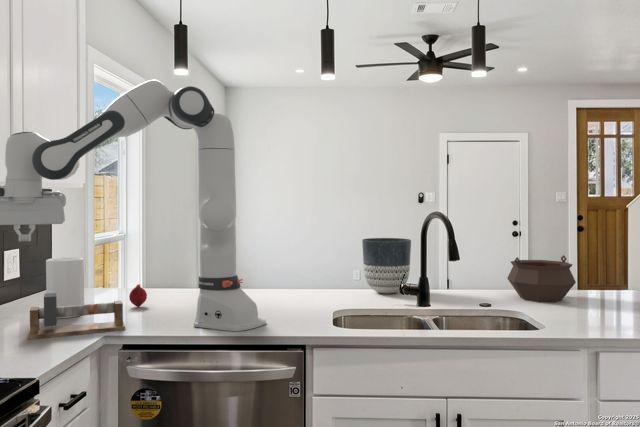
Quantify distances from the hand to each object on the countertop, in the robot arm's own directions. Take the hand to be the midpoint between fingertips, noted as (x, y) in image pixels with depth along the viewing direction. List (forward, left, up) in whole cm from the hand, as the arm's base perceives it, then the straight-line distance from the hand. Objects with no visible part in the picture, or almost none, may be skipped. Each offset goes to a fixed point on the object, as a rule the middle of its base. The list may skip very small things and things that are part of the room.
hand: (24, 241), depth 151 cm
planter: (-49, -118, -27) cm, 131 cm away
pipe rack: (-7, -11, -26) cm, 29 cm away
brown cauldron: (-103, -139, -27) cm, 175 cm away
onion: (+9, -43, -27) cm, 52 cm away
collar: (-3, -5, -24) cm, 24 cm away
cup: (+17, -21, -27) cm, 38 cm away
